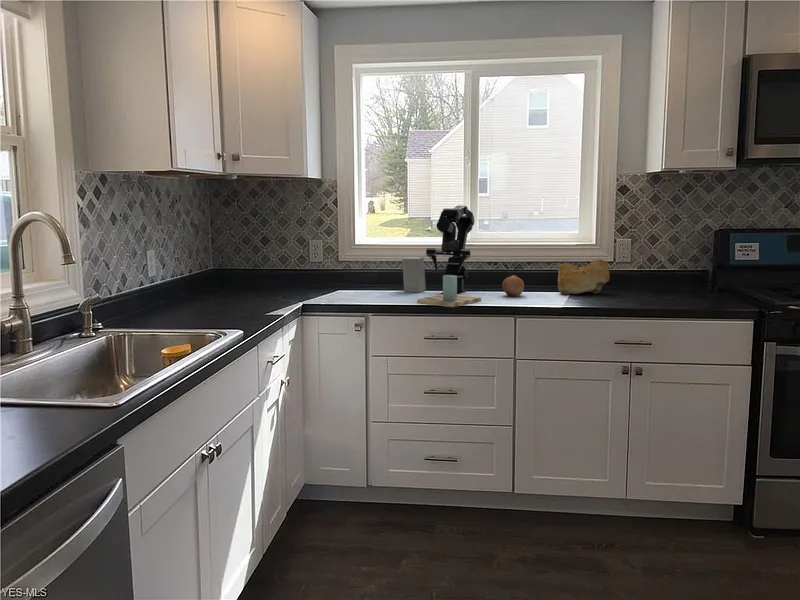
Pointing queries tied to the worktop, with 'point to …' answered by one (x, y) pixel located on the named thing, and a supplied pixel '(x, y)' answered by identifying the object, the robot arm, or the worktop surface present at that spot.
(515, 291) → the onion
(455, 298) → the ceramic jar
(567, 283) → the rough brown rock
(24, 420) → the worktop surface
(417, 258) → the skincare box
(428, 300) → the oak board
